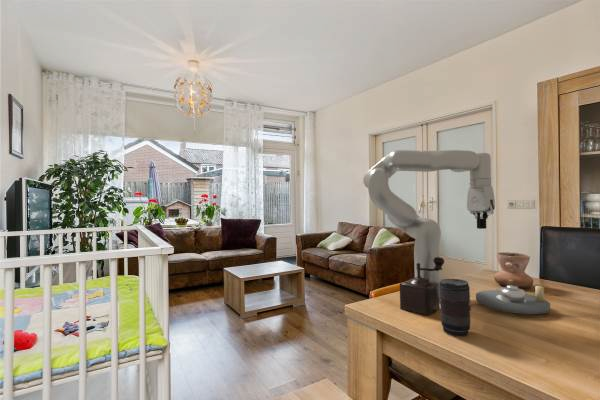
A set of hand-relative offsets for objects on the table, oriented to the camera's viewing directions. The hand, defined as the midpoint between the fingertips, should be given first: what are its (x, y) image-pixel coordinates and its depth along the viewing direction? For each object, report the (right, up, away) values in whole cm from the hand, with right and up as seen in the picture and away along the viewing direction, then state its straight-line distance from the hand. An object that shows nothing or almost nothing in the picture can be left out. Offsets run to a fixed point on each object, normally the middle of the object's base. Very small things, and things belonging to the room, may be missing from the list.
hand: (481, 228), depth 127 cm
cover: (+1, -24, -16) cm, 29 cm away
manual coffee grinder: (-29, -28, -13) cm, 42 cm away
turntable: (+2, -25, -15) cm, 30 cm away
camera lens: (-28, -28, -35) cm, 53 cm away
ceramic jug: (+21, -27, +12) cm, 36 cm away
